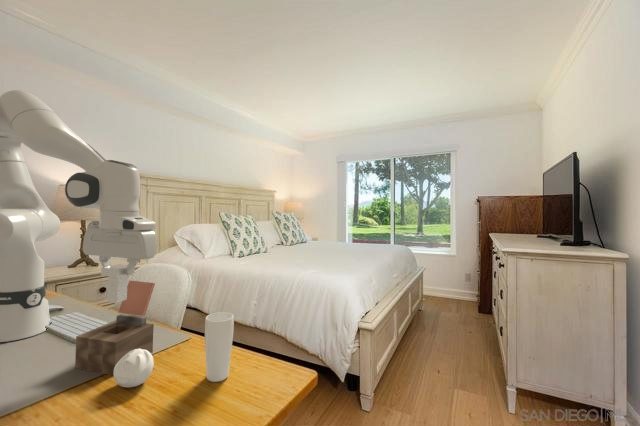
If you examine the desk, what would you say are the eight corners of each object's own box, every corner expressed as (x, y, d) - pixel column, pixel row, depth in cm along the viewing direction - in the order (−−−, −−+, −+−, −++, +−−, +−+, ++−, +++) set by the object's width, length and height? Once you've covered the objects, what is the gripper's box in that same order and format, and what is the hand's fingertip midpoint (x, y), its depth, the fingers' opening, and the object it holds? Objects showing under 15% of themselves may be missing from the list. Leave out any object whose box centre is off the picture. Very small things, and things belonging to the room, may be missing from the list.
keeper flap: (118, 312, 83) (121, 312, 84) (142, 315, 81) (144, 315, 82) (129, 280, 86) (131, 281, 87) (152, 282, 84) (155, 283, 85)
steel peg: (100, 302, 76) (101, 267, 76) (117, 296, 81) (118, 264, 81) (116, 304, 75) (117, 269, 75) (133, 298, 80) (134, 265, 80)
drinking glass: (204, 387, 67) (206, 323, 67) (201, 372, 73) (203, 313, 73) (234, 381, 71) (236, 319, 70) (229, 367, 77) (231, 310, 76)
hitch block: (75, 368, 73) (76, 328, 73) (117, 346, 85) (118, 312, 85) (114, 375, 71) (116, 334, 71) (152, 352, 83) (153, 317, 83)
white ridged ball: (105, 392, 65) (106, 357, 65) (131, 373, 72) (132, 342, 72) (137, 396, 64) (138, 361, 63) (161, 377, 71) (162, 345, 71)
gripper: (76, 220, 77) (74, 272, 77) (142, 224, 72) (140, 279, 73) (99, 219, 83) (97, 268, 83) (161, 223, 79) (159, 274, 79)
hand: (118, 273), depth 78 cm, fingers closed on steel peg, 5 cm apart
